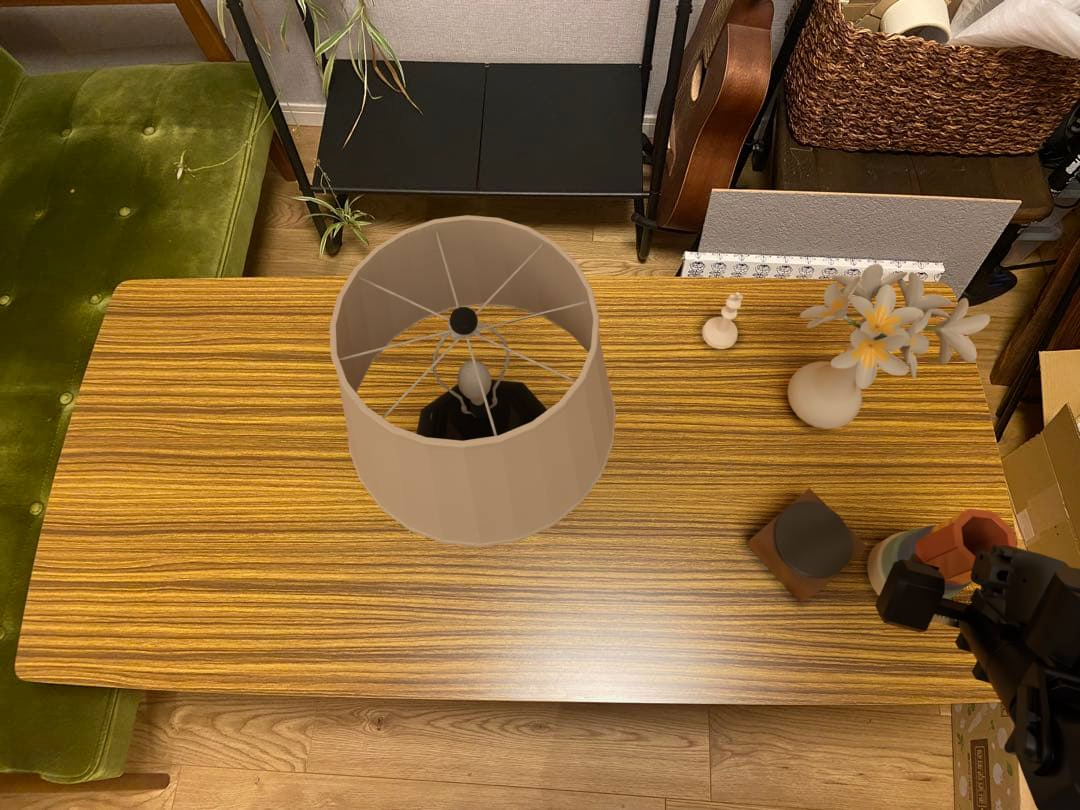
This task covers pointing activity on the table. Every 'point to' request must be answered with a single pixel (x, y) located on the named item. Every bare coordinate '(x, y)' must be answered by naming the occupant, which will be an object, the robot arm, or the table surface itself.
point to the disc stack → (898, 558)
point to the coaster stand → (806, 546)
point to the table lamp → (473, 384)
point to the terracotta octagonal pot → (963, 543)
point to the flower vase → (875, 342)
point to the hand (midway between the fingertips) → (957, 568)
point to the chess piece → (723, 325)
